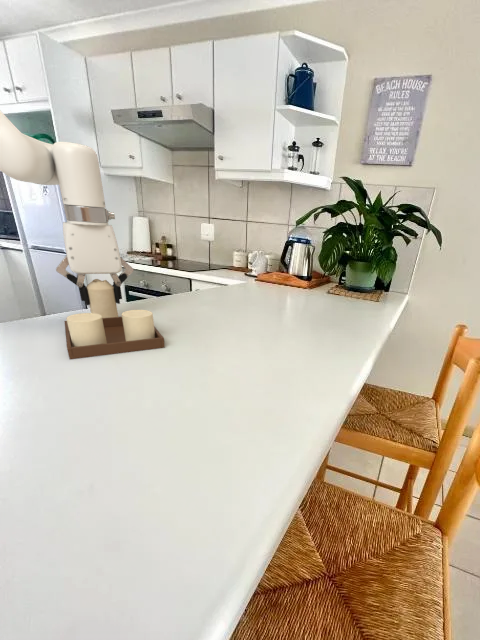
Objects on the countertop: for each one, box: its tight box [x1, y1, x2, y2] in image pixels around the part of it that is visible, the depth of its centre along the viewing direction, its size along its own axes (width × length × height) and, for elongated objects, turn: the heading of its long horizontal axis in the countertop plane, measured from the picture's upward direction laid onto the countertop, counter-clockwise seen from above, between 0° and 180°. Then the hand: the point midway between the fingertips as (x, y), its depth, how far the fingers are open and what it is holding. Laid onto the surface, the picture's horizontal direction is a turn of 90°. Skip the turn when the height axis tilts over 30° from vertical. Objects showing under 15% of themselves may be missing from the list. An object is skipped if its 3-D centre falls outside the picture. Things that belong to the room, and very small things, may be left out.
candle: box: [85, 278, 119, 318], centre depth 75 cm, size 6×6×10 cm
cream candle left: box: [65, 312, 107, 347], centre depth 60 cm, size 6×6×6 cm
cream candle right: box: [121, 309, 155, 341], centre depth 65 cm, size 6×6×6 cm
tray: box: [63, 316, 166, 360], centre depth 67 cm, size 16×17×3 cm
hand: (102, 302), depth 75 cm, fingers closed on candle, 5 cm apart
